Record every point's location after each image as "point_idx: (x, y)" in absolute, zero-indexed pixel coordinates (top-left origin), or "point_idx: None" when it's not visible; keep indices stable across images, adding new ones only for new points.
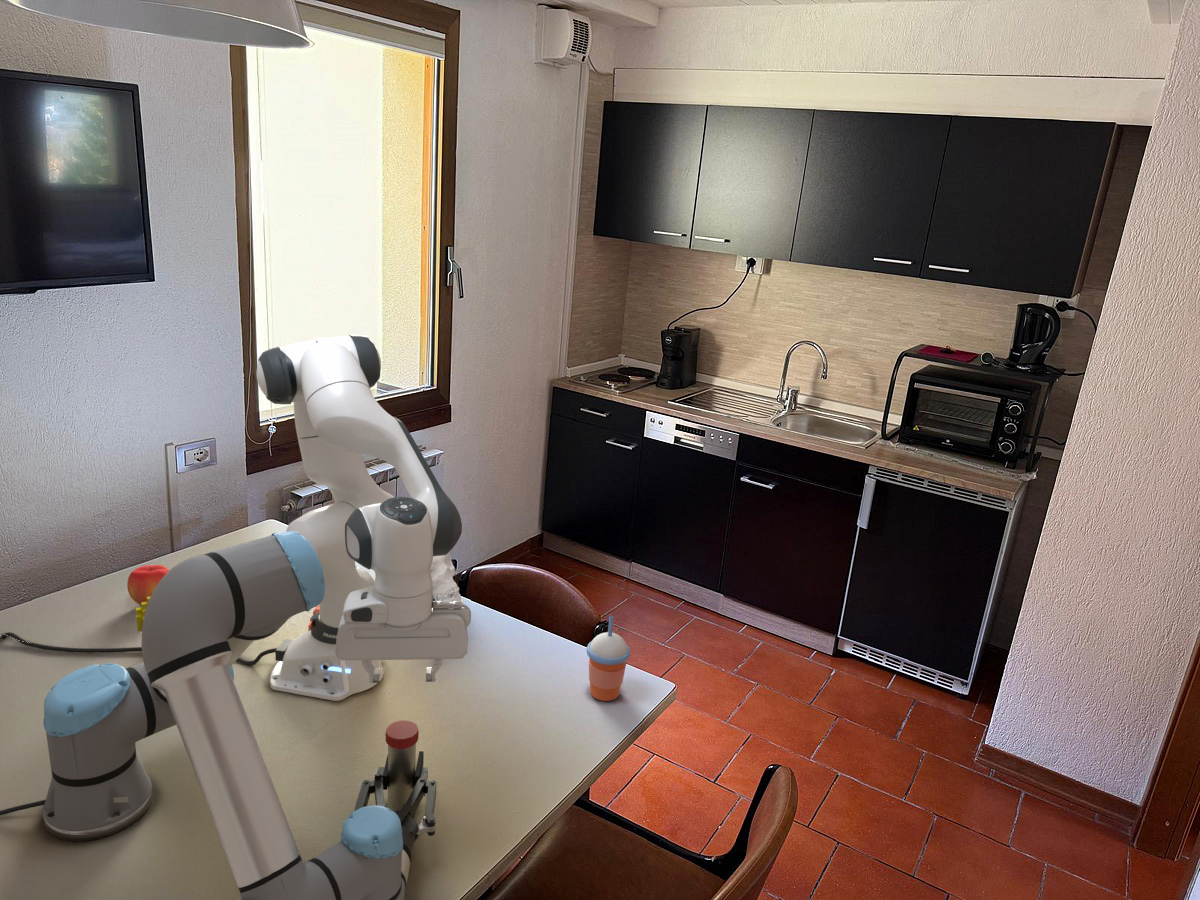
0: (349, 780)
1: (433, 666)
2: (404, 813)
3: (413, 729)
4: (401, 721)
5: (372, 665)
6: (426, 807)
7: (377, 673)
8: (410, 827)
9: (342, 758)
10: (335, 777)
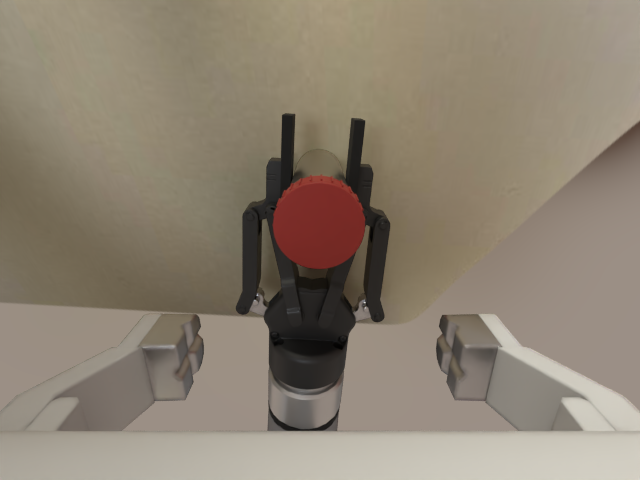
0: (212, 83)
1: (517, 390)
2: (331, 308)
3: (351, 229)
4: (313, 189)
5: (118, 371)
6: (369, 288)
7: (175, 392)
8: (342, 327)
9: (179, 2)
10: (182, 72)
